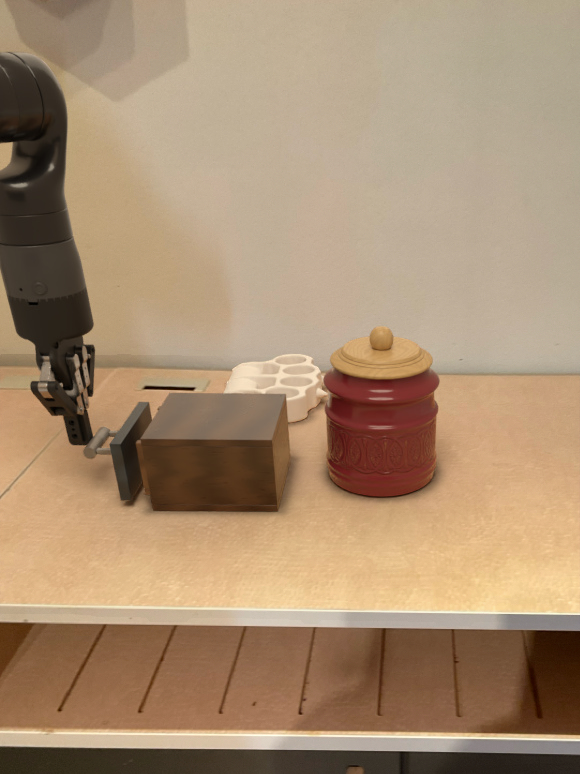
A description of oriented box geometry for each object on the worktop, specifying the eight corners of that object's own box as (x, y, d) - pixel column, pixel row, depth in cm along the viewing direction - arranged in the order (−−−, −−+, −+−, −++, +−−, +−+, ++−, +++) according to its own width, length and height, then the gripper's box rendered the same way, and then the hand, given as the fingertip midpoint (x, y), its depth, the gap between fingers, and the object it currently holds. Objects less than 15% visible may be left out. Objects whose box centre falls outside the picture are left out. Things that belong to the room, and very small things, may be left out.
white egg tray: (237, 374, 121) (333, 375, 121) (217, 423, 106) (327, 423, 106) (235, 353, 119) (332, 353, 120) (214, 399, 104) (326, 399, 104)
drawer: (81, 500, 86) (68, 443, 82) (113, 453, 96) (102, 401, 92) (235, 501, 86) (229, 444, 83) (251, 454, 96) (246, 402, 92)
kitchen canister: (382, 511, 87) (383, 355, 77) (304, 473, 94) (295, 326, 85) (458, 472, 95) (466, 326, 85) (380, 439, 102) (380, 302, 93)
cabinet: (153, 510, 86) (139, 438, 82) (179, 458, 97) (169, 392, 92) (277, 511, 86) (271, 439, 82) (290, 459, 97) (286, 393, 92)
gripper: (33, 268, 85) (68, 418, 94) (-22, 304, 74) (24, 469, 83) (104, 269, 85) (132, 418, 94) (59, 304, 74) (96, 470, 83)
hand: (81, 442), depth 88 cm, fingers closed
